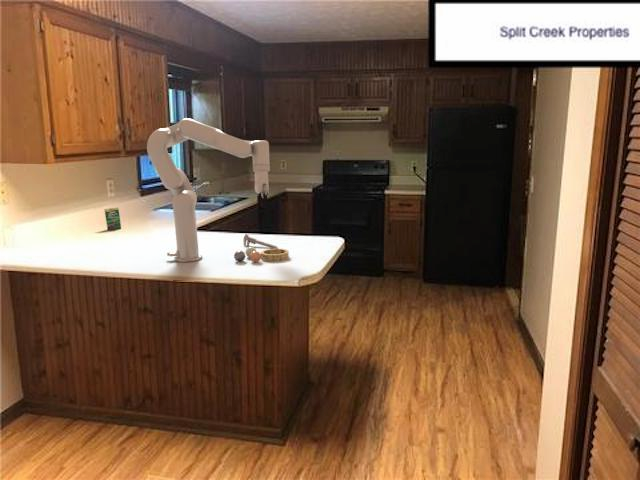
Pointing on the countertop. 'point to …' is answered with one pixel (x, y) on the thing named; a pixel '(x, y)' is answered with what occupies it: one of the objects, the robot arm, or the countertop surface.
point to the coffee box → (112, 218)
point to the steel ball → (239, 256)
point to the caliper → (257, 242)
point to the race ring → (274, 255)
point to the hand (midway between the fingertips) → (263, 205)
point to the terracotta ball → (255, 256)
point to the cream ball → (250, 251)
